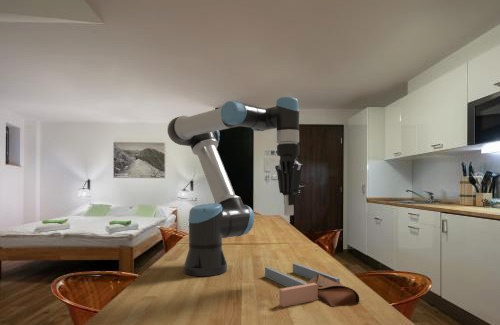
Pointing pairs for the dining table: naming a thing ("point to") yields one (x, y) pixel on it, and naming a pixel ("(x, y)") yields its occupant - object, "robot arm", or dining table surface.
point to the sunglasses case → (334, 292)
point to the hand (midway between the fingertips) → (289, 215)
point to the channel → (297, 269)
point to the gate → (298, 294)
